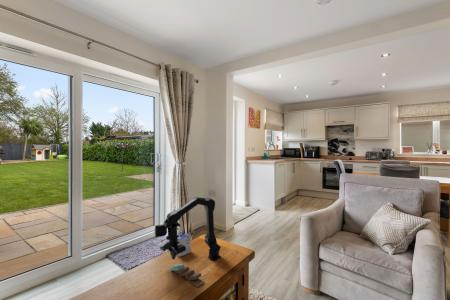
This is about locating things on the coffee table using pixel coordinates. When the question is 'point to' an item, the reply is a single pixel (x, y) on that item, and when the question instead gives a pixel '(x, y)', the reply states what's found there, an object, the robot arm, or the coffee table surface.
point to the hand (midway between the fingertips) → (173, 259)
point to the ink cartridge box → (184, 243)
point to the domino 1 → (177, 267)
